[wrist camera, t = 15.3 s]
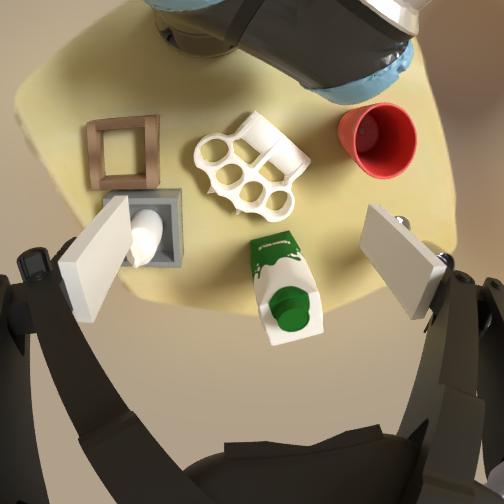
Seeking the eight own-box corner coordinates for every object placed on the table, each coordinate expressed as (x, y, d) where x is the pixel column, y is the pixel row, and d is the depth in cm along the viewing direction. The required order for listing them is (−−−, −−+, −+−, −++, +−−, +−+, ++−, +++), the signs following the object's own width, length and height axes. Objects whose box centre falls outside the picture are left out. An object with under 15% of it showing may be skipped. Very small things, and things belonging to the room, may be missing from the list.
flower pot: (395, 118, 43) (428, 127, 34) (369, 172, 47) (397, 191, 39) (345, 87, 40) (372, 88, 32) (317, 146, 45) (339, 160, 36)
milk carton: (293, 224, 51) (327, 296, 34) (301, 267, 56) (332, 345, 38) (243, 237, 52) (254, 315, 34) (256, 278, 56) (269, 361, 39)
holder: (94, 120, 39) (86, 122, 36) (159, 114, 40) (155, 116, 37) (98, 184, 44) (91, 190, 42) (160, 182, 45) (156, 188, 43)
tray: (112, 189, 45) (102, 199, 41) (181, 188, 46) (177, 198, 42) (120, 252, 51) (113, 265, 47) (183, 253, 52) (180, 267, 48)
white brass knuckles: (321, 170, 47) (262, 232, 52) (237, 96, 40) (177, 168, 45) (327, 175, 44) (265, 241, 49) (238, 96, 37) (174, 173, 42)
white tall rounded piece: (103, 248, 36) (139, 237, 36) (127, 213, 46) (158, 204, 46) (122, 284, 39) (157, 276, 39) (140, 244, 49) (170, 236, 49)
